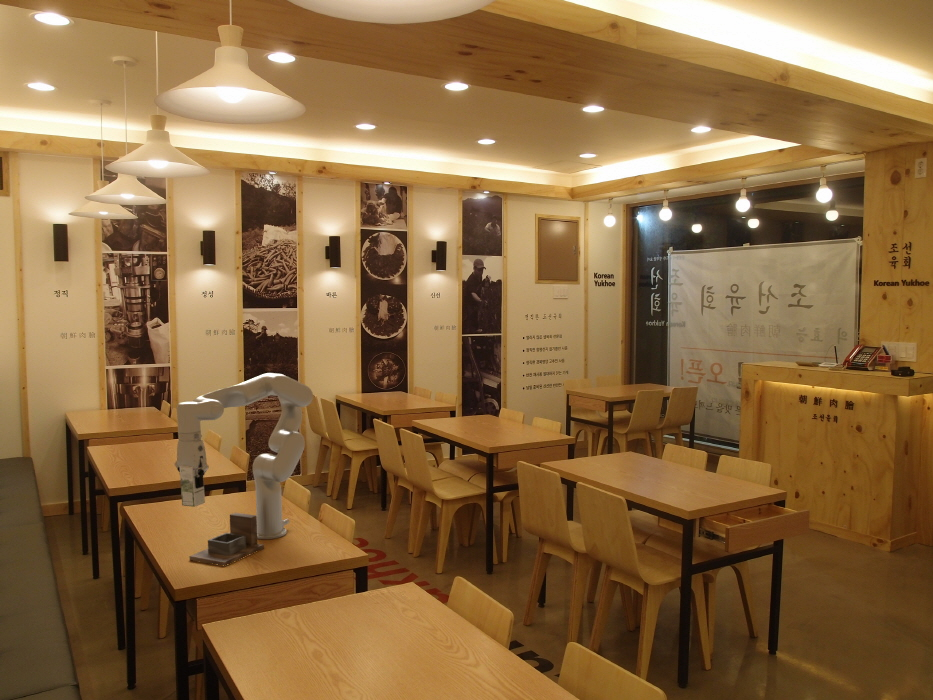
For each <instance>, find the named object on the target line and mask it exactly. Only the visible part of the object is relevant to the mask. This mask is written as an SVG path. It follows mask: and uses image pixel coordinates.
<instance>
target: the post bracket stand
mask: <svg viewBox="0 0 933 700" xmlns="http://www.w3.org/2000/svg"><path fill="white" fill-rule="evenodd" d="M229 531H230V532H225V533H223V534H220V535H217V536H215V537H212V538H209V539H208V540H207V548H205V549H203V550H201V551H198V552H197V553H194V554H191V555H189V557H188V558H189V561H190V560H193V561H192V562H196V561H200V562H199V563H201V562H206V563H205V564H207V563H213V564H218V565H224V566H225V565H227V564H229V565H231V564H230V563H232V562H234V561H236V562H238V561H240V560H242V559H244V558H243V557H245V556H247V555H249V554H251V555H253V554H255V553H254V552H256V551H258V552H260V551H262V550H264V549H265V545H264V544H261V543H258V539H257V514H255V515H254V514H248V513H242V512H241V513H240V512H234V513H230V514H229ZM263 548H264V549H263ZM261 549H262V550H261ZM259 550H260V551H259ZM252 553H253V554H252ZM256 553H257V552H256ZM249 556H250V555H249ZM247 557H248V556H247ZM241 558H242V559H241ZM245 558H246V557H245ZM239 559H240V560H239ZM237 560H238V561H237ZM234 563H235V562H234ZM213 564H212V565H213ZM232 564H233V563H232ZM218 565H217V566H218ZM224 566H223V567H224ZM227 566H228V565H227ZM225 567H226V566H225Z"/></svg>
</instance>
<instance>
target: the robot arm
mask: <svg viewBox="0 0 933 700" xmlns="http://www.w3.org/2000/svg"><path fill="white" fill-rule="evenodd" d="M269 396H274V397H276V396H277V397H278V400H279V403H280V406H281V407H280V408H281V414H280V417H279V419H278V422H277V423H276V425H275V427H274V429H273V431H272V433H271V434H270V437H269V439H268V448H269V449H270V450H271V451H272V452H274V453H277V454H272V453H267V452H266V453H261V454H259V455H257V456H256V457H255V458H254V460H253V462H252V463H253V464H252V474H253V479H254V485H255V486H254V487H255V506H256V509H255V511H256V516H257V540H271V539H278V538H281V537H284V536H285V535H286V534H287V529H286V528H284V527H285V526H286V525H288V524H290V519H289V518H286V519H283V507H282V504H283V503H282V501H283V500H282V486H281V483H283V482H286V481H287V480H288V479H289V478H290V477H291V476H292V474H293V473H294V470H295V469H296V467H297V465H298V463H299V461H300V459H301V457H302V455H303V453H304V450H305V446H306V445H305V444H306V441H305V440H306V439H305V437H304V435H303V434H302V433H301V432H299V429H300V428H301V425H302V422H303V409H302V408H305V407H307V406H309V405H311V403H312V401H313V398H314V394H313V391H312V389H311V388H310V386H308V385H306V384H305V383H302V382H300V381H298V380H296V379H294V378H291V377H290V376H288V375H287V376H286V374H285V375H284V374H282V373H276V372H275V373H274V372H267V373H263V374H260V375H258V376H255V377H253V378H250V379H248V380H246V381H243V382H241V383H238V384H235V385H230V386H228V387H224V388H221V389H216V390H213V391H210V392H208V393H205V394H203V395H200V396H198V397H196V398H195V399H194V400H193V401H192V400H191V401H190V400H189V401H182V402H178V404H177V406H176V418H177V419H176V420H177V421H176V422H177V435H178V437H177V438H178V441H177V446H176V461H175V462H174V466H175V468H176V469H177V471H178V472H179V475H180V466H189V467H193V469H195V474H196V477H195V486H196V488H201V487H203V486H204V487H205V482H203V481H204V476H205V474H206V473H207V471H208V470H209V465H208V462H207V453H206V448H205V443H204V439H202V437H203V435H202V431H201V421H216V420H218V419H219V418H221V417H222V416H223V414H224V412H225V411H224V410H225V409H229V408H236V407H237V408H239V407H245V406H248V405H250V404H253V403H256V402H258V401H260V400H262V399H265V398H267V397H269ZM202 467H203V468H202ZM198 470H200V472H198Z"/></svg>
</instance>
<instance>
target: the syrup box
mask: <svg viewBox="0 0 933 700" xmlns="http://www.w3.org/2000/svg"><path fill="white" fill-rule="evenodd" d="M202 468H203V467H202ZM198 472H200V470H198ZM179 473H180V474H179V478H180V479H179V480H180V492H181V493H180V494H181V504H182V505H181V506H182V507H192V508H193V507H199V506H201V505H203V504H206V503H205V502H206V499H205V498H206V497H205V485H204V486H203V487H201V488H196V486H195V477H196V474H195V469H193V467H189V466H180V472H179ZM203 482H204V480H203ZM204 483H205V482H204Z"/></svg>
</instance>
